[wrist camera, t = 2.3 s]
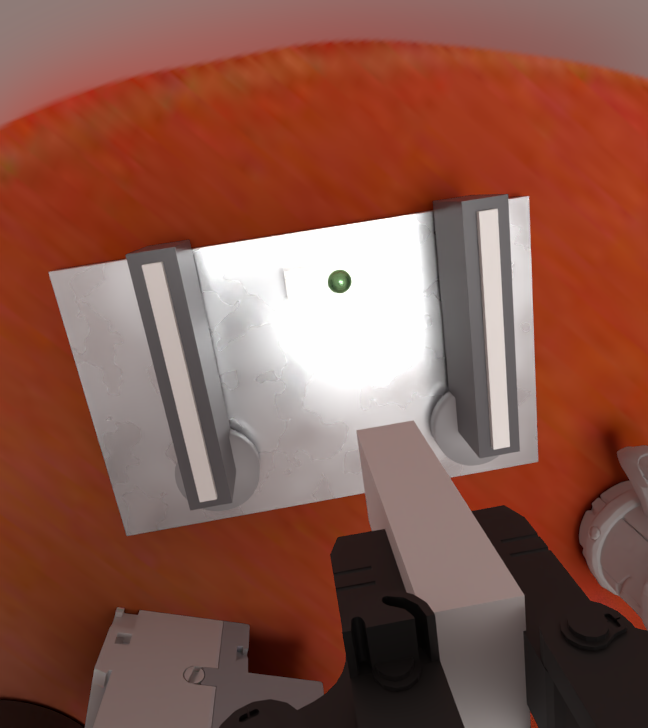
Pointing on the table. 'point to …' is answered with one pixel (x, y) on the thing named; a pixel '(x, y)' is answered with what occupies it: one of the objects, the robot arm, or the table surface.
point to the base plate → (288, 359)
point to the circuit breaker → (180, 674)
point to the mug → (621, 533)
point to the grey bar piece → (191, 380)
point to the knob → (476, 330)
